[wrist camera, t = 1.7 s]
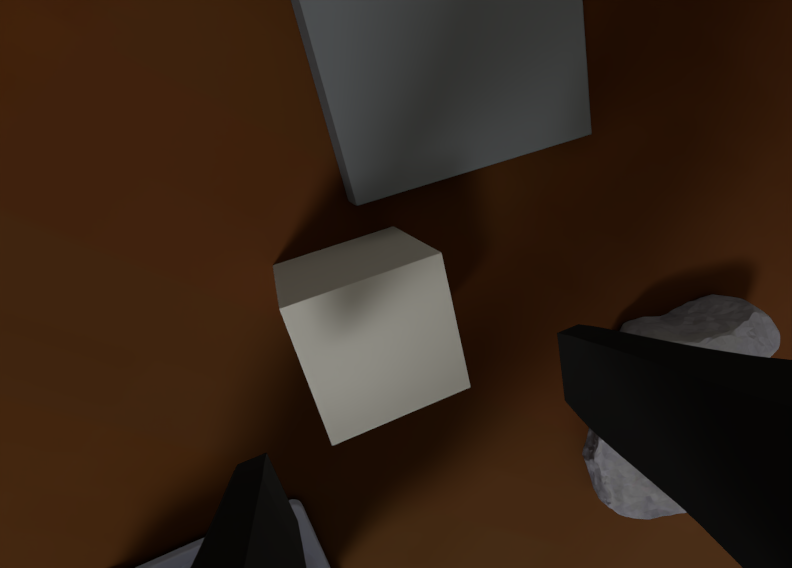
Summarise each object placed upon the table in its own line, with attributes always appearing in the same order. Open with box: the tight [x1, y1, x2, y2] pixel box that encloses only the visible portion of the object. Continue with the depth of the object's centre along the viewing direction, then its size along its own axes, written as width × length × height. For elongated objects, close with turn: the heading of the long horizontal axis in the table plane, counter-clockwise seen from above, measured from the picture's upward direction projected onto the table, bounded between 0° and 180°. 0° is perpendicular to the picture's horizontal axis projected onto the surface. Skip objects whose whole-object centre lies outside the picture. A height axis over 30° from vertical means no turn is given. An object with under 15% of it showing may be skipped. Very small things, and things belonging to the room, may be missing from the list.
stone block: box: [583, 294, 780, 519], centre depth 24 cm, size 12×5×10 cm
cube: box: [273, 226, 470, 446], centre depth 15 cm, size 5×5×5 cm
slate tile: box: [291, 0, 592, 206], centre depth 15 cm, size 10×10×2 cm
